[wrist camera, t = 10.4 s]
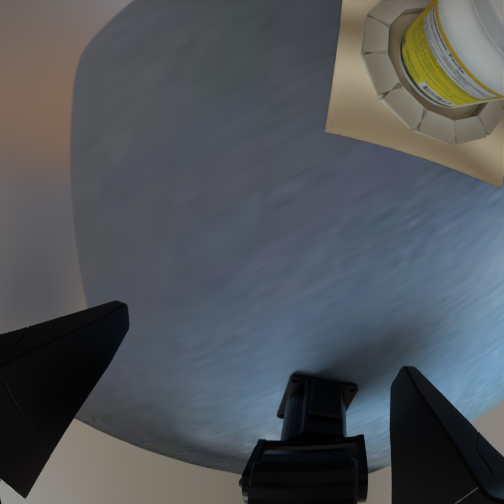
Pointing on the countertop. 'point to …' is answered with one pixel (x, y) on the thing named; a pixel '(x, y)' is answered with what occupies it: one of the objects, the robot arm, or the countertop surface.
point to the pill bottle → (456, 52)
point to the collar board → (405, 97)
